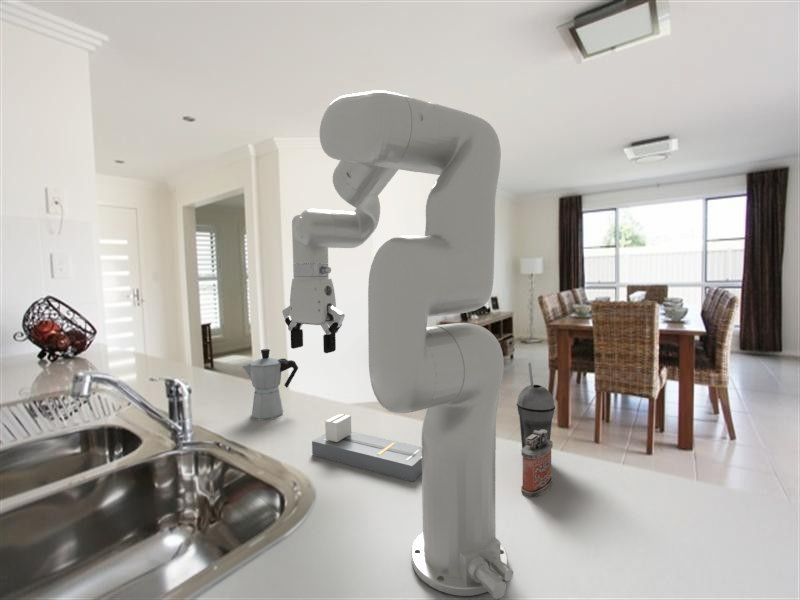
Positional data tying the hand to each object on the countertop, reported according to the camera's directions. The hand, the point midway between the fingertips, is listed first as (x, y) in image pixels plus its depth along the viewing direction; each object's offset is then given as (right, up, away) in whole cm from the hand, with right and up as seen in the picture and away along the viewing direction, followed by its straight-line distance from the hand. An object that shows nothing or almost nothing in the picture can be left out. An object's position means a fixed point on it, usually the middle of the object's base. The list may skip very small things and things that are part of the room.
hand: (313, 349), depth 91 cm
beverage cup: (+46, -22, -9) cm, 52 cm away
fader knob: (+6, -18, -3) cm, 20 cm away
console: (+13, -22, -6) cm, 26 cm away
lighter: (+43, -22, -18) cm, 52 cm away
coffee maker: (-16, -21, +22) cm, 34 cm away
